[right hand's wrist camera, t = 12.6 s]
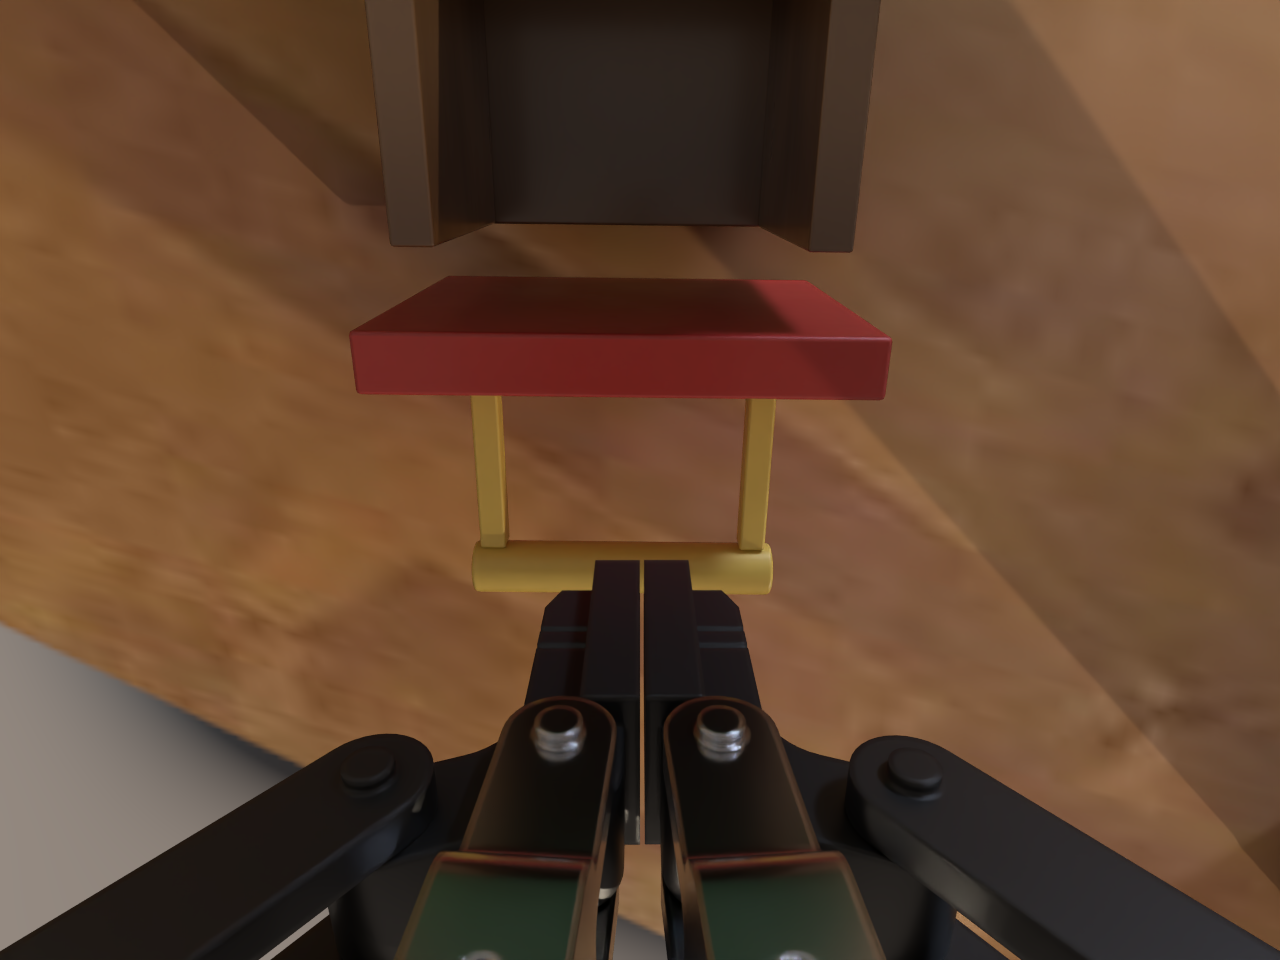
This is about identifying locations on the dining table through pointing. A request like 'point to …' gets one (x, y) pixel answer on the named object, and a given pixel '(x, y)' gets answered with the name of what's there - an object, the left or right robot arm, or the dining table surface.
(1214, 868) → the dining table surface
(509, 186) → the drawer
